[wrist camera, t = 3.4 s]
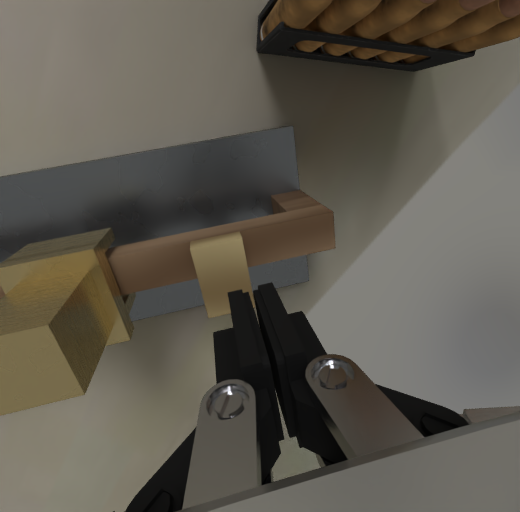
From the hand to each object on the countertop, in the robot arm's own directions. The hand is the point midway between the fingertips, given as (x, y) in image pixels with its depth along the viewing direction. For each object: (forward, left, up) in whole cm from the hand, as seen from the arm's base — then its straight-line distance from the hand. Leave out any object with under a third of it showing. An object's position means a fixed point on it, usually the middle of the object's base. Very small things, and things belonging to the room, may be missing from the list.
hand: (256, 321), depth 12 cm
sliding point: (0, -8, -10) cm, 13 cm away
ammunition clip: (-10, +9, -12) cm, 18 cm away
